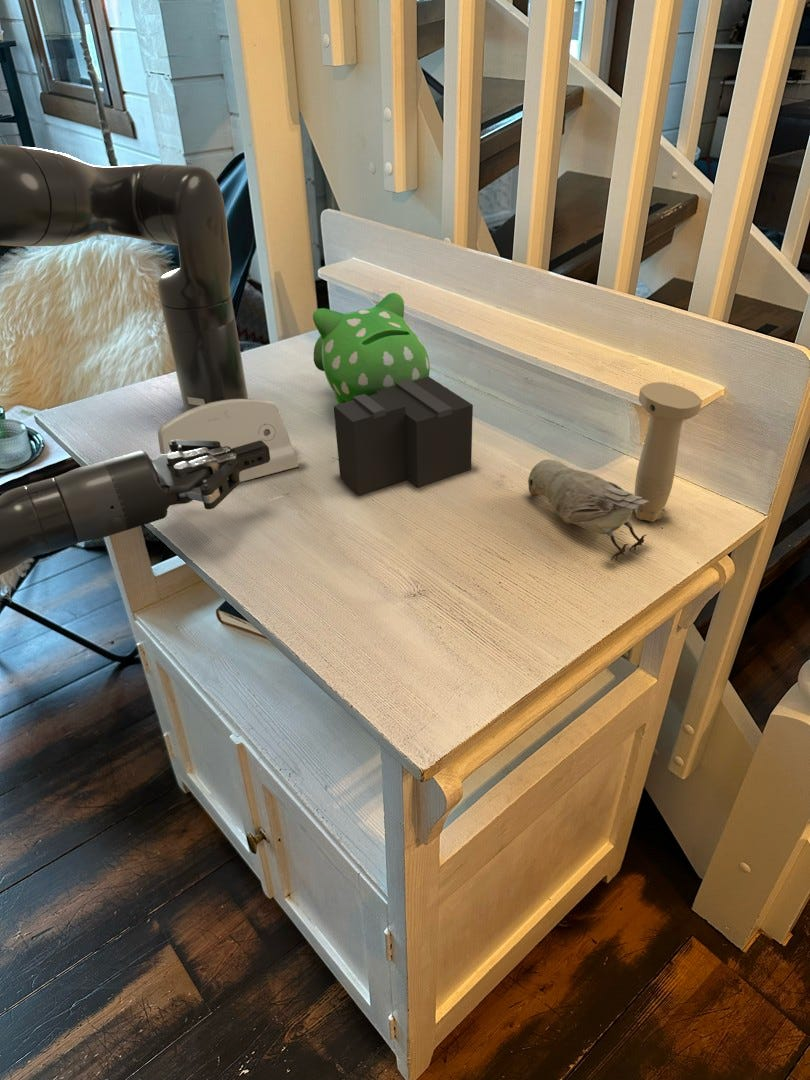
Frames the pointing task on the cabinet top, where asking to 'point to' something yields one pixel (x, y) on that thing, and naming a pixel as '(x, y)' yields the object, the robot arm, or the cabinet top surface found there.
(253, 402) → the white wall mount bracket
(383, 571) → the cabinet top surface
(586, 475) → the decorative bird
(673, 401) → the handle
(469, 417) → the black taped box
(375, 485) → the black box
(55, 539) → the robot arm
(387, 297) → the piggy bank
